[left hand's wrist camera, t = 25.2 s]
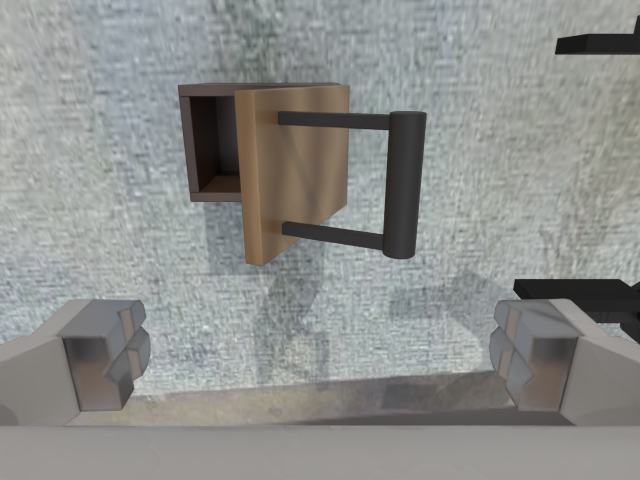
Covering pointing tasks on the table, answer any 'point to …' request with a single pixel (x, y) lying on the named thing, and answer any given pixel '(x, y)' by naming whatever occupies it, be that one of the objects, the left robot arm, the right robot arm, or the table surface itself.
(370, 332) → the table surface
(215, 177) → the chest
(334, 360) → the table surface
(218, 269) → the table surface
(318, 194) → the lid
